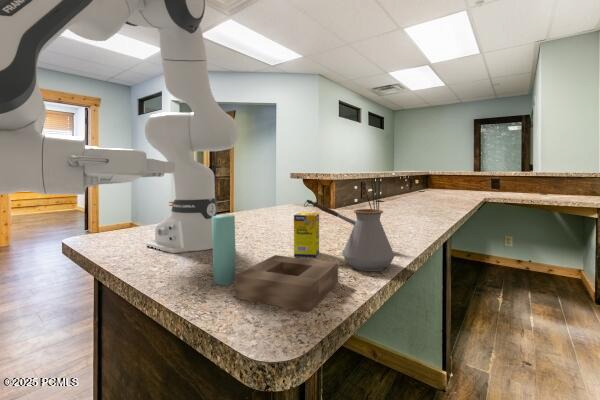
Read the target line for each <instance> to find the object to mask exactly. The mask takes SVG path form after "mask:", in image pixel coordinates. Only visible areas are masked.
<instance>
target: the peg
mask: <svg viewBox="0 0 600 400" xmlns="http://www.w3.org/2000/svg"><path fill="white" fill-rule="evenodd" d="M235 219H236V217H235V215H233V214H232V215H231V214H222V215H220V214H219V215H216V216H212V246H213V248H212V264H213V265H212V271H213V274H212V275H213V276H212V277H213V283H214V285H218V286H225V285H227V286H228V285H232V284H233V283H234V284H235V275H236V274H237V257H236V252H237V251H236V220H235Z"/></svg>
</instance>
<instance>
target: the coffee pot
mask: <svg viewBox="0 0 600 400" xmlns="http://www.w3.org/2000/svg"><path fill="white" fill-rule="evenodd" d="M306 203H307V204H306ZM303 204H304V205H303V207H304V208H307V207H308V206H309V205H312V207H314V208H315V207H316V208H317V209H319V210H321V211H322V212H324V213H327V214H329V215H332V216H334V217H337V218H339V219H341V220H343V221H345V222H347V223H349V224H351V225H353V227H352V230H351V232H350V234H349V237H348V239H347V241H346V243H345V246H344V249H343V250H342V256H343V258H344V260H345V262H347V264H349V265H350V267H351V268H353V269H355V270H358V271H363V272H379V271H383V270H384V269H386V267H387V266H389V265H390V264H391V263H392V262H393V260H394V258H395V253H394V250H393V249H392V247H391V244H390V242H389V238H388V236H387V234H386V232H385V229H384V227H383V224H382V223H381V222H382V221H381V215H382V214H383V213H384V210H382V209H379V210H377V209H376V208H375V209H374V208H372V209H371V208H366V209H365V208H364V209H360V208H359V209H355V210H354V211H353V213H354V214H355V217H356V220H354V219H351V218H349V217H347V216H345V215H342V214H340V213H339V212H337V211H335V210H333V209H331V208H330V207H327V206H325V205H323V204H319V203H317V202H316V201H313V200H310V199H306V201H305V203H303Z"/></svg>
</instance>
